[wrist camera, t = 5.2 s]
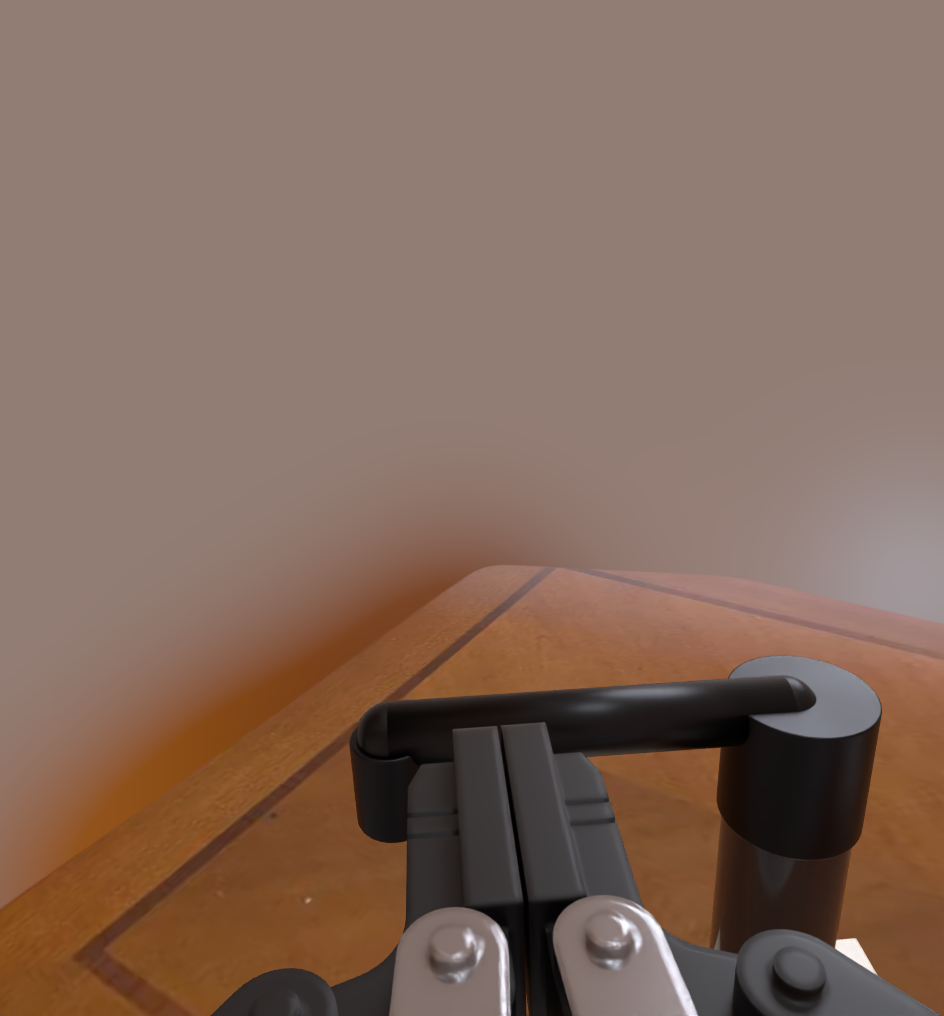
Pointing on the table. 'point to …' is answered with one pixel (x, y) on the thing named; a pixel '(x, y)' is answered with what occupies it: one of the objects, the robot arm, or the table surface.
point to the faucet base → (777, 896)
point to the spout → (667, 745)
